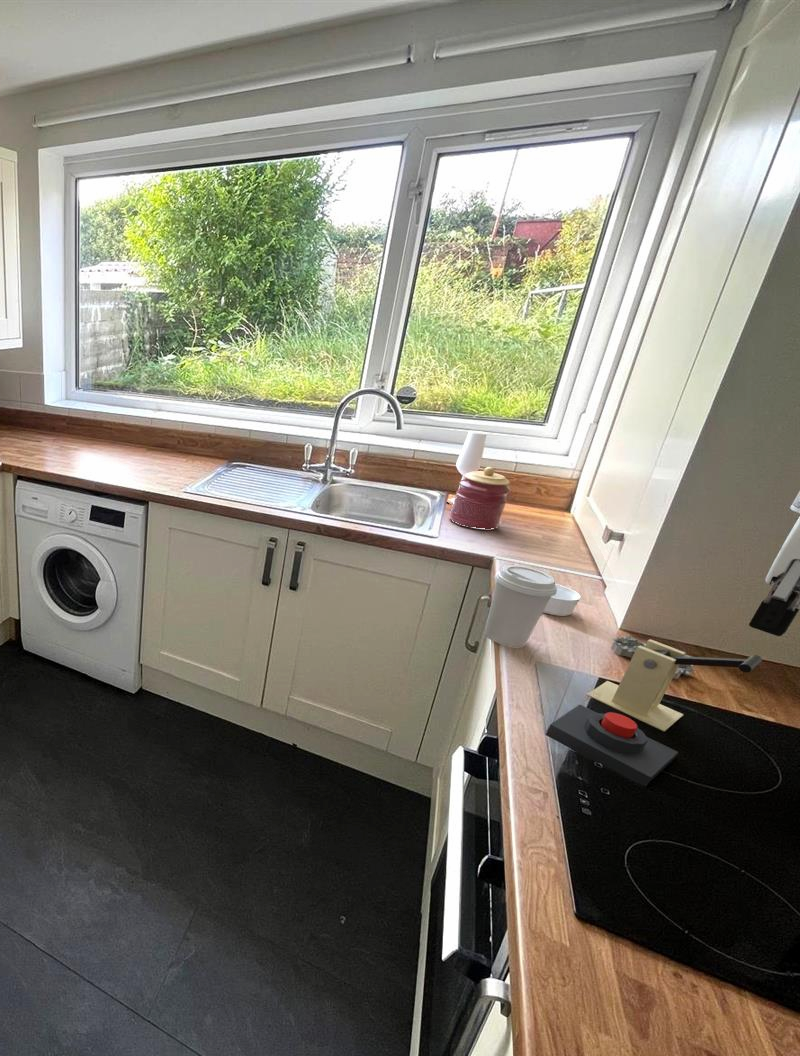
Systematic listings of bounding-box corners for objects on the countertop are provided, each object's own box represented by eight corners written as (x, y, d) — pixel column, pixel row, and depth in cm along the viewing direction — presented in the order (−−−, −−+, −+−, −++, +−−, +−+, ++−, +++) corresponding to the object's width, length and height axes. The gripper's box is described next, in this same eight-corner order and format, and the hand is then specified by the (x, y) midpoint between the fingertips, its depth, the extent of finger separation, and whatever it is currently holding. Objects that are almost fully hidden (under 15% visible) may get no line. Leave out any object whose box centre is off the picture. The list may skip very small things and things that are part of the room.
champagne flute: (464, 501, 196) (486, 431, 186) (470, 508, 190) (493, 435, 180) (442, 499, 197) (462, 429, 188) (448, 505, 191) (469, 433, 182)
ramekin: (528, 611, 125) (535, 594, 124) (520, 594, 133) (526, 577, 131) (579, 622, 122) (586, 603, 120) (567, 603, 129) (574, 586, 128)
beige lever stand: (680, 720, 93) (714, 659, 89) (661, 737, 89) (695, 673, 85) (604, 686, 101) (631, 628, 96) (584, 700, 97) (611, 640, 93)
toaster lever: (764, 667, 83) (760, 650, 83) (753, 677, 81) (749, 660, 81) (652, 662, 94) (649, 647, 94) (640, 670, 91) (637, 655, 91)
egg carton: (694, 680, 104) (705, 661, 102) (666, 686, 102) (676, 667, 100) (628, 647, 113) (636, 629, 112) (600, 652, 111) (609, 634, 109)
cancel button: (636, 733, 84) (641, 723, 84) (626, 741, 83) (631, 732, 82) (606, 718, 87) (611, 709, 87) (596, 726, 86) (600, 716, 85)
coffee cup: (463, 628, 118) (486, 562, 112) (511, 631, 118) (536, 564, 112) (493, 655, 109) (519, 584, 103) (544, 658, 109) (574, 587, 103)
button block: (672, 763, 84) (684, 742, 83) (644, 789, 79) (656, 767, 78) (574, 715, 94) (584, 694, 92) (545, 735, 89) (554, 714, 87)
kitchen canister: (442, 521, 176) (458, 465, 170) (455, 512, 185) (472, 458, 178) (491, 534, 168) (510, 476, 161) (503, 524, 176) (522, 468, 169)
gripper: (874, 525, 67) (790, 658, 74) (898, 507, 74) (819, 630, 81) (780, 504, 73) (710, 629, 80) (810, 490, 80) (744, 606, 87)
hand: (765, 629), depth 81 cm, fingers closed
